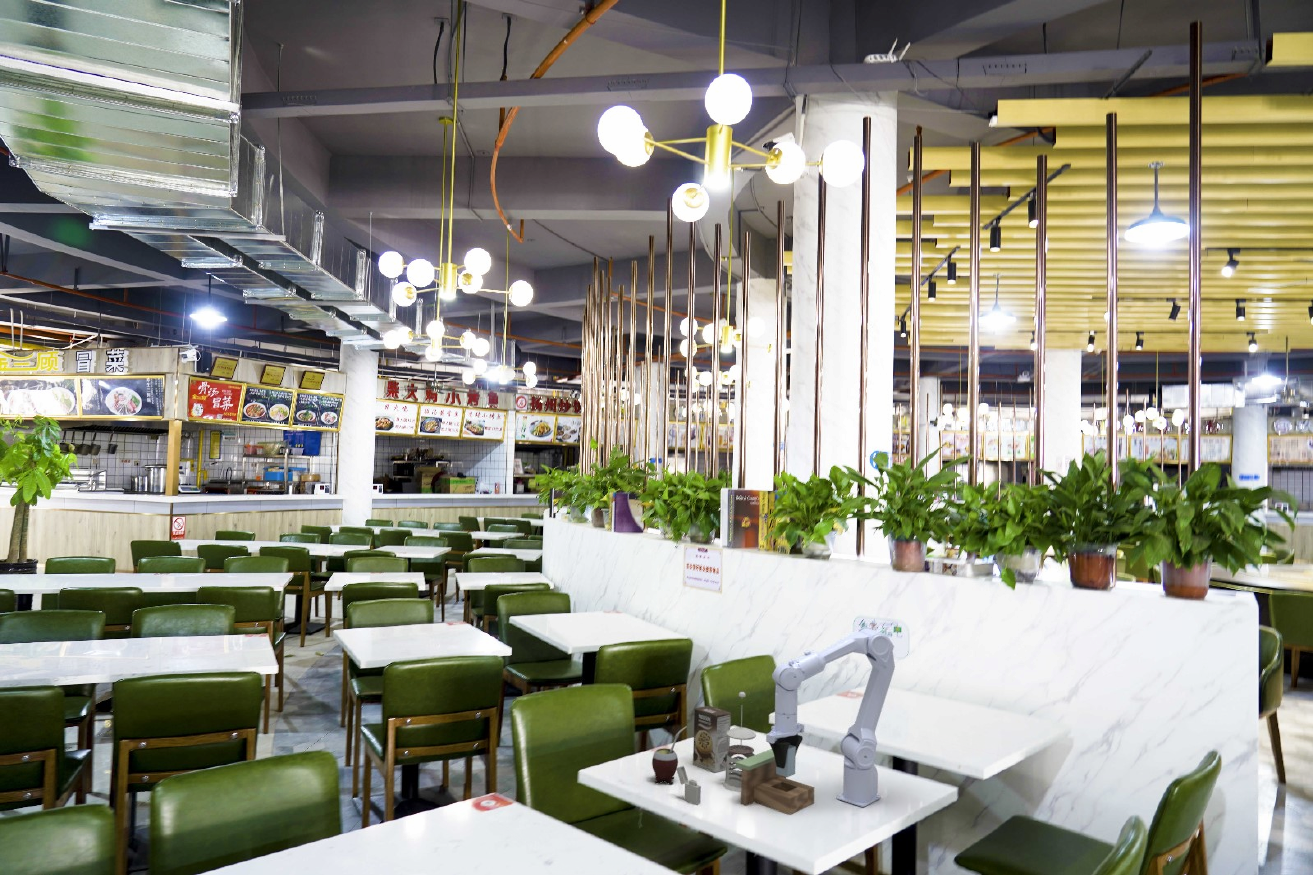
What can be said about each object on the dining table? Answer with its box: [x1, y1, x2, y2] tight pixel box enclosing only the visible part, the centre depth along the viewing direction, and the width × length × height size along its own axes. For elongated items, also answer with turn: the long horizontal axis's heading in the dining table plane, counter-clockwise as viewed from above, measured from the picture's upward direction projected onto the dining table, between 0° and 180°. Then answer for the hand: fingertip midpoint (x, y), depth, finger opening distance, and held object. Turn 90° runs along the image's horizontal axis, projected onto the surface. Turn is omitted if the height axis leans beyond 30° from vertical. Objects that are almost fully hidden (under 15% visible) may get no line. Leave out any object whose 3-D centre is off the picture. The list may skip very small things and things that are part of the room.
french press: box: [716, 691, 757, 793], centre depth 226 cm, size 10×12×25 cm
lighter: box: [676, 765, 702, 806], centre depth 213 cm, size 7×2×8 cm, turn 48°
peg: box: [776, 745, 797, 778], centre depth 214 cm, size 4×4×7 cm
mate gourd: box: [651, 725, 687, 785], centre depth 227 cm, size 8×8×15 cm
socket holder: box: [735, 748, 815, 816], centre depth 215 cm, size 18×14×10 cm
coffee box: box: [692, 705, 732, 774], centre depth 239 cm, size 9×6×16 cm
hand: (785, 765), depth 214 cm, fingers closed on peg, 3 cm apart
